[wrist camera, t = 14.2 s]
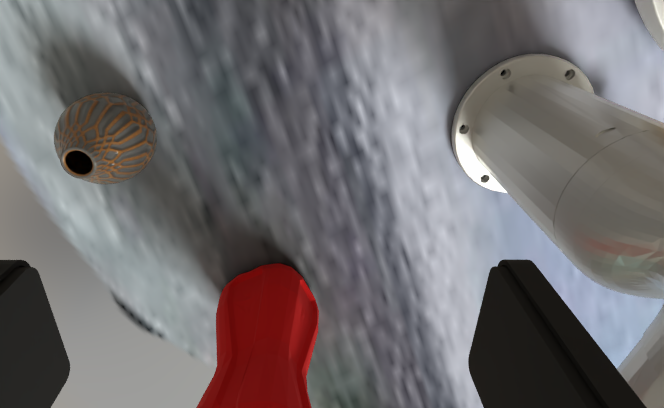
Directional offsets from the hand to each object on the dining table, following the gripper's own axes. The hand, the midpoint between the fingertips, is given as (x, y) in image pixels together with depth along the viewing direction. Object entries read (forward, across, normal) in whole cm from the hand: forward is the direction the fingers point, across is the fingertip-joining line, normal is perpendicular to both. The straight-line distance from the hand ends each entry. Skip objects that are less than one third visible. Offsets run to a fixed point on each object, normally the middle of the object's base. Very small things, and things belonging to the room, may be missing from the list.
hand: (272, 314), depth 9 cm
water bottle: (+30, +3, +25) cm, 40 cm away
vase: (+30, +15, +6) cm, 34 cm away
